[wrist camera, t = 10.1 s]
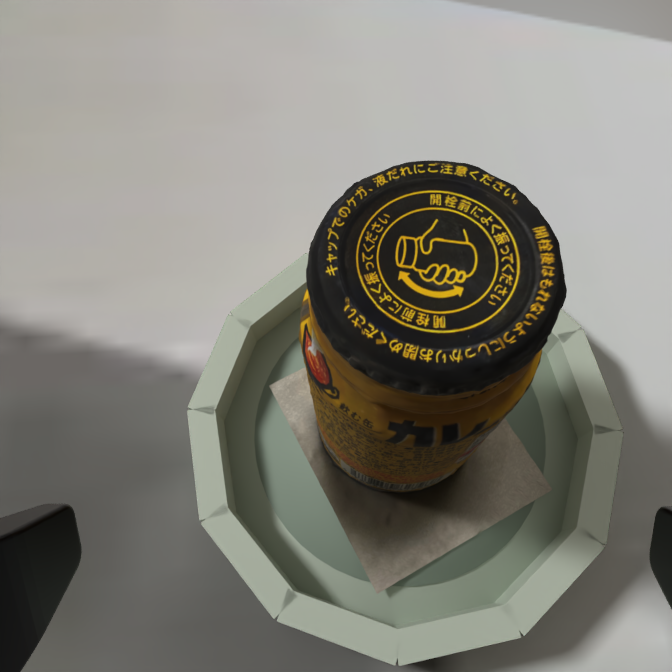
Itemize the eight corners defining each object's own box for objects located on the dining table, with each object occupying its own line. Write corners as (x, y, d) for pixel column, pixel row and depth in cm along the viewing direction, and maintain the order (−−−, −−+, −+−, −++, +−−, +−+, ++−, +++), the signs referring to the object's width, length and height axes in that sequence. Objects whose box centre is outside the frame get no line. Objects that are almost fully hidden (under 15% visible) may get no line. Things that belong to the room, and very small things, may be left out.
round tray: (657, 596, 21) (690, 598, 19) (234, 694, 20) (220, 707, 18) (520, 236, 26) (534, 207, 24) (186, 302, 26) (172, 277, 24)
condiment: (428, 305, 25) (488, 79, 13) (551, 490, 22) (758, 394, 10) (269, 387, 23) (191, 213, 12) (376, 594, 20) (401, 609, 9)
